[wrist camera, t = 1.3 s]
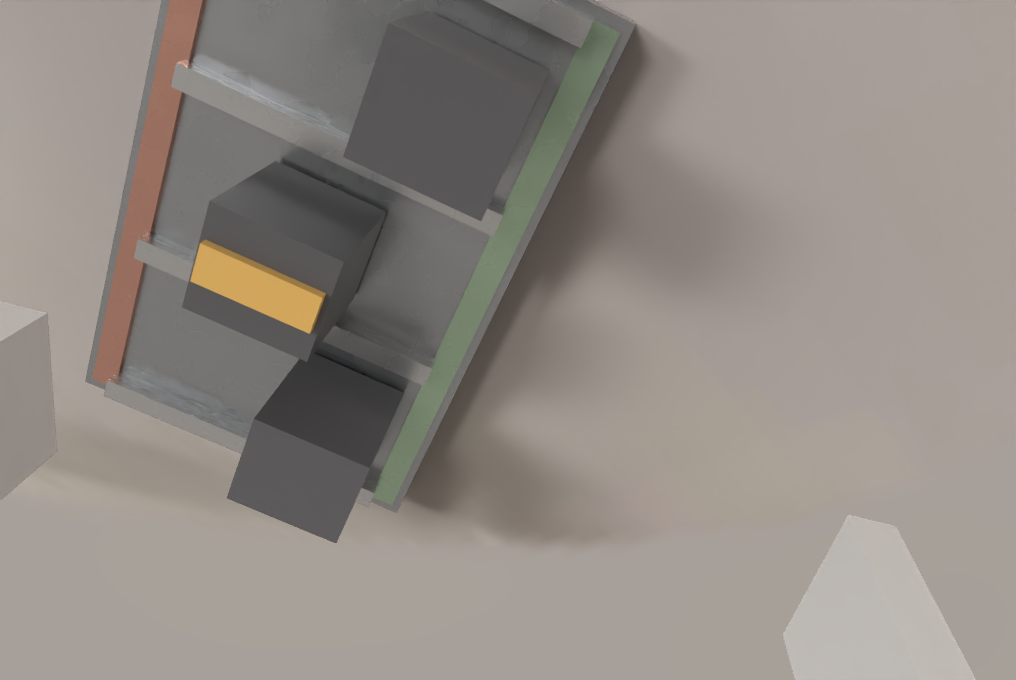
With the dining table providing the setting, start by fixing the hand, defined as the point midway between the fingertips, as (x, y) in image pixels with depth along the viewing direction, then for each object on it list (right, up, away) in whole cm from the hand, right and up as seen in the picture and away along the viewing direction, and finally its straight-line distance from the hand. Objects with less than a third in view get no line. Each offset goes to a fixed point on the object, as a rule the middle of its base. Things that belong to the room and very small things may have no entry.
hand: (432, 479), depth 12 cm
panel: (-7, +8, +22) cm, 25 cm away
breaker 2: (-7, -1, +24) cm, 25 cm away
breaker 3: (0, +12, +17) cm, 21 cm away
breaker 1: (-7, +7, +20) cm, 22 cm away
